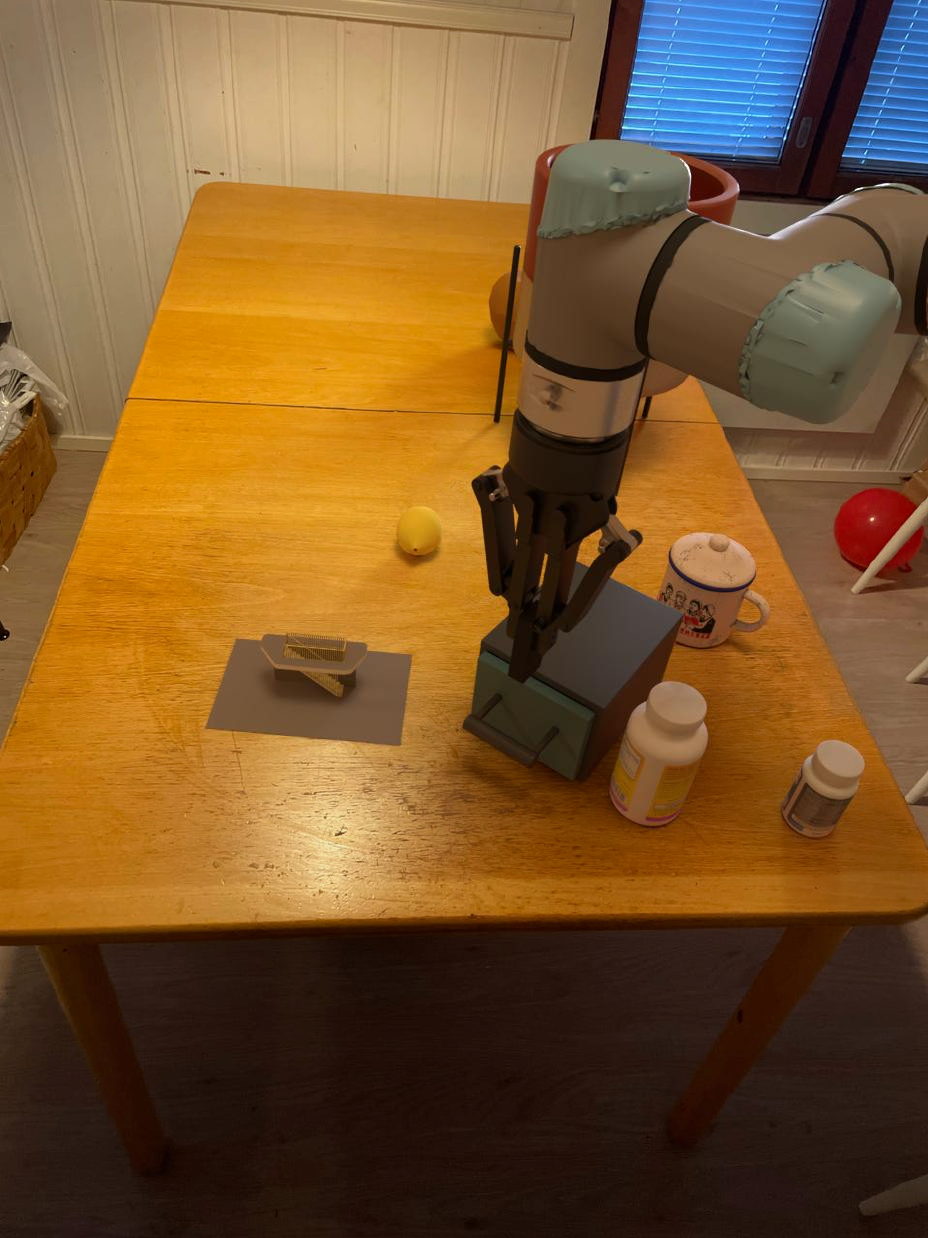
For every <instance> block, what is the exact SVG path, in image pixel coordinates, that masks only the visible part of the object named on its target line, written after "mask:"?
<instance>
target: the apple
mask: <svg viewBox="0 0 928 1238" xmlns="http://www.w3.org/2000/svg"><path fill="white" fill-rule="evenodd" d="M522 269H523V268H521V269H518V275H517V284H516V292H515V300H514V308H513V317H512V325H511V333H510V340H513V334H514V327H515V322H516V317H517V309H518V301H519V293H520V285H521V277H522ZM510 276H511V271H507V272H505V273H504V274H502V275H501V276H500V277H499V278H498V279H497V280H496V282H495V283H494V284H493V285H492V286H491V291H490V295H489V299H488V308H489V317H490V321H491V322H490V323H491V325H492V327H493V329H494V331H495V334H496V336H497V338H499V340H500V339H501V340H502V341H503V337H504V328H505V319H506V311H507V302H508V293H509V285H510ZM501 340H500V341H501ZM502 341H501V342H502ZM509 349H510V350H513V351H514V349H513V347H509Z"/></svg>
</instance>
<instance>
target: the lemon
mask: <svg viewBox="0 0 928 1238" xmlns="http://www.w3.org/2000/svg"><path fill="white" fill-rule="evenodd" d="M395 533H396V534H395V535H396V540H397V541H398V544H399V546H400V548H401V549H402V550H403V551H404V552H405V553H408V554H411V555H413V556H424V555H427V554H429V553H431V552H433V551H435V550H436V548H437V547H438V546H439V545H440V543H441V542H442V538H443V534H444V527H443V523H442V520H441V518H440V516H439V515H438V514H437V512H436V511H435V510H433V509H432V508H430V507H428V506H424V505H422V506H421V505H417V506H412V507H408V509H406V510H405V511H404V512H403V513H402V514H401V516H400V518H399V519H398V521H397V523H396V532H395Z"/></svg>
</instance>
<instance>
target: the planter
mask: <svg viewBox="0 0 928 1238" xmlns="http://www.w3.org/2000/svg"><path fill="white" fill-rule="evenodd" d="M574 144H575V143H568V144H563V145H558V146H553V147H552V148H549V149H546V150H545V151H543V152H542V153H540V154H539V155H538V156H537V158H536V161H535V165H534V174H533V183H532V190H531V198H530V206H529V215H528V220H527V221H528V222H527V223H528V224H527V230H526V238H525V240H526V241H525V245H524V246H525V247H524V254H523V262H522V268H521V269H522V277H521V285H520V293H519V301H518V309H517V317H516V322H515V327H514V334H513V340H510V333H511V325H512V317H513V308H514V300H515V292H516V284H517V275H518V270H519V268H520V267H519V266H520V258H521V250H522V246H521V245H518V244H515V245H514V246H513V249H512V250H513V251H512V260H511V269H510V272H511V276H510V285H509V293H508V302H507V311H506V319H505V328H504V337H503V342H502V347H501V355H500V363H499V372H498V381H497V390H496V397H495V398H496V399H495V408H494V415H493V422H494V423H500V421H501V416H502V415H501V414H502V405H503V399H504V390H505V381H506V373H507V365H508V356H509V349H510V348H509V347H513V349H514V350H513V349H512V350H513V352H514V354H515V356H516V358H517V359H518V361H519V362H520V363H521V362H522V355H523V348H524V343H525V338H526V330H527V329H528V321H529V313H530V305H531V297H532V289H533V280H534V270H535V259H536V249H537V239H538V237H537V235H536V233H537V228H538V226H539V225H540V223H541V218H542V213H543V208H544V203H545V198H546V193H547V188H548V183H549V178H550V172H551V168H552V165H553V163H554V161H555V159H556V158H557V156H558V155H559V154H560V153H561V152H562V151H563V150H565V149H566V148H567V147H569V146H571V145H574ZM665 150H666V151H668V152H669V153H670V155H673V156H676V157H679V158H681V159H682V160H683V161H684V162H685V163H686V164H687V166H688V168H689V171H690V174H691V182H690V190H689V196H690V199H689V201H688V204H689V206H688V208H687V209H688V210H689V211H690V212H693V213H696V214H699V215H701V216H703V217H705V218H707V219H710V220H714V221H715V222H716V223H719V224H722V225H726V226H729V227H731V223H732V219H733V215H734V212H735V209H736V205H737V201H738V198H739V194H740V186H739V183H738V181H737V180H736V178H735V177H733V176H732V175H731V174H730V173H729V172H727V171H725V170H724V169H722V168H720V167H718V166H716V165H714V164H712V163H710V162H707V161H705V160H702V159H699V158H697V157H694V156H690V155H686V154H683V153H680V152H676V151H671V150H667V149H665ZM689 376H690V375H688V374H686V373H684V372H682V371H679V370H677V369H675V368H673V367H671V366H668V365H666V364H664V363H662V362H659V361H655V360H652V359H650V358H648V359H647V363H646V366H645V370H644V375H643V379H642V383H641V388H640V392H639V397H638V401H637V405H636V410H635V414H634V418H633V421H632V423H631V424H630V425H629V426H628V427H629V438H628V442H627V446H626V450H625V454H624V458H623V462H622V466H621V471H620V475H619V478H618V481H617V484H616V487H615V497H617V496H619V491H620V486H621V483H622V478H623V475H624V470H625V466H626V463H627V457H628V453H629V450H630V445H631V440H632V436H633V433H634V432H633V431H634V429H635V424H636V419H637V414H638V411H639V406H640V402H641V399H644V398H645V399H644V403H643V408H642V412H641V418H642V419H647V418H648V416H649V412H650V409H651V404H652V401H653V397H655V396H657V395H662V394H665V393H668V392H670V391H672V390H674V389H677V388H678V387H679V386H681V385H682V384H683V383H685V382H686V380H687V379H688V378H689Z"/></svg>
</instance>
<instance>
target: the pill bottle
mask: <svg viewBox="0 0 928 1238" xmlns="http://www.w3.org/2000/svg"><path fill="white" fill-rule="evenodd" d="M865 762H866V761H865V759H864V757H863V755H862V754H861V753H860V751H858V749H856V748H855V747H854V746H852V745H851V744H849V743H846V742H845V741H842V740H836V739H828V740H825V741H823V742H820V744H818V746H817V747H816V749H815V751H814V752H813V754H811V755H810V756H808V757H806V759H805V760H804V761H803V763H802V765H801V767H800V769H799V771H798V773H797V774H796V777H795V779H794V781H793V782H792V784H791V786H790V788H789V789H788V792H787V793H786V795H785V798H784V799H783V801H782V803H781V813H782V816H783V818H784V820H785V822H786V823H787V824H788V826H789V827H790V828H791V829H792V830H794V831H795V832H796V833H798V834H801V835H803V836H806V837H809V838H823V837H826V836H828V835H829V834H831V832H833V830H834V829H835V827H836V826H837V824H838V823H839V821H840V819H841V818H842V816H843V815H844V813H845V812H846V810H847V808H848V806H849V805H850V803H851V802H852V800H853V798H854V797H855V795H856V794H857V793H858V791H859V787H860V779H861V777H862V775H863V773H864V771H865V768H866V763H865Z"/></svg>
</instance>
